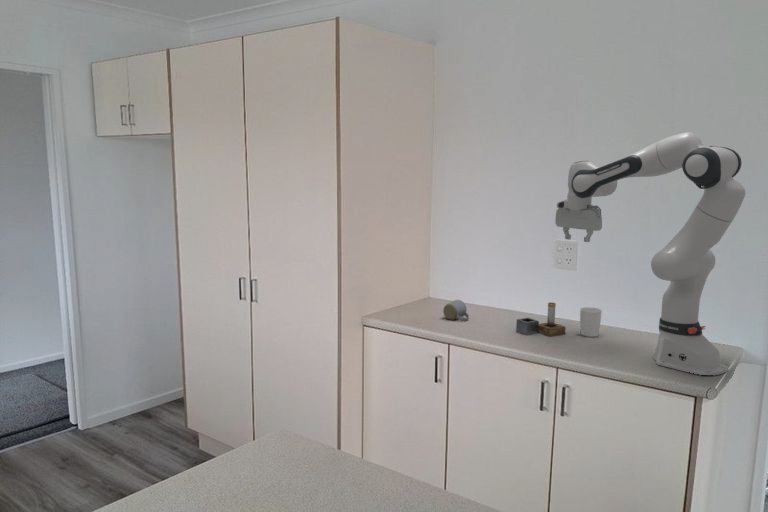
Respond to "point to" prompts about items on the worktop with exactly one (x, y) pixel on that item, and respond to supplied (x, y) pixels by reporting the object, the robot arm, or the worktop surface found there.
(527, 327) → the socket block
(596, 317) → the white cup
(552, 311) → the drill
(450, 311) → the ceramic mug
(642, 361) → the worktop surface
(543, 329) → the block
